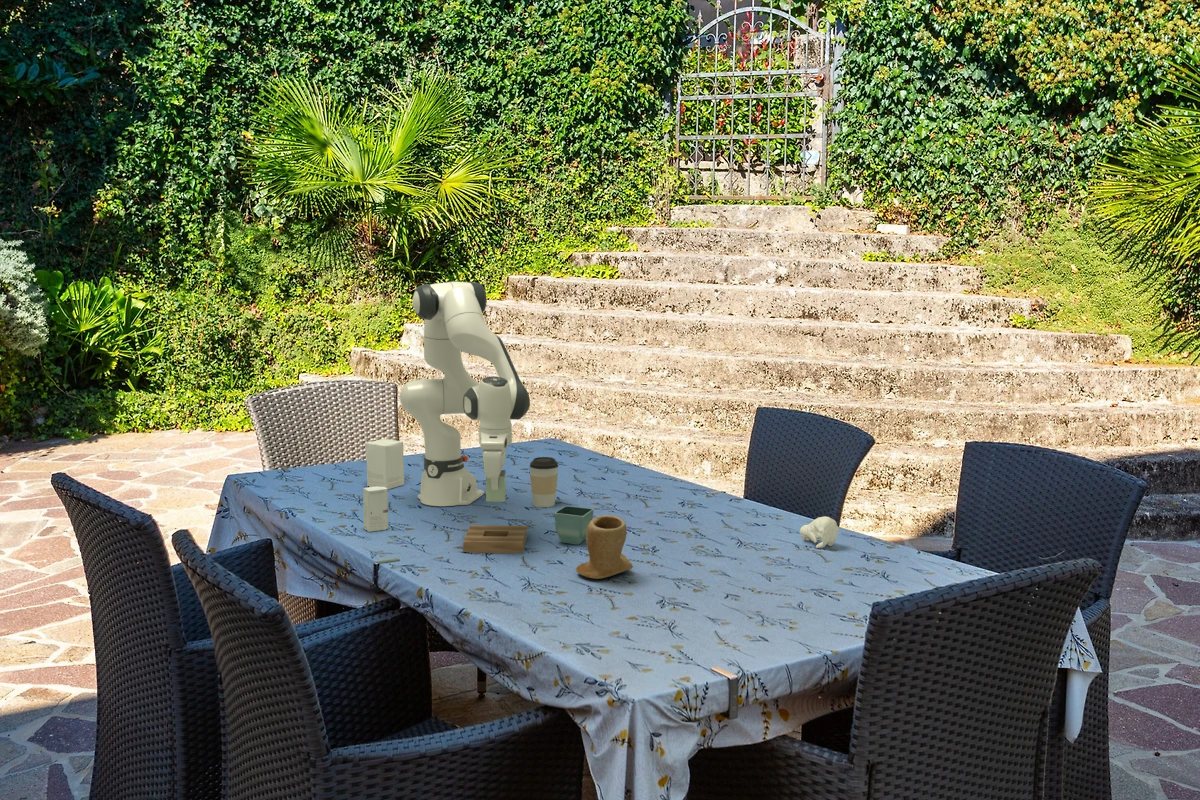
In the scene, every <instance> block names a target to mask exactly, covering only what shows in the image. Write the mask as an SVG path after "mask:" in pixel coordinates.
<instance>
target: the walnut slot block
mask: <svg viewBox="0 0 1200 800" xmlns="http://www.w3.org/2000/svg"><path fill="white" fill-rule="evenodd" d="M527 537H528V526H527V525H493V524H492V525H489V524H488V525H487V524H486V525H485V524H484V525H479V524H477V525H476V524H475V525H473V524H470V525H469V527H468V529H467V532H466V534H465V537H464V538H463V540H462V541H463V542H462V553H463V552H469V553H468V554H471V553H472V554H475V553H476V554H523V553H524V550H525V546H526V541H527V539H528V538H527Z"/></svg>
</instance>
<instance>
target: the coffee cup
mask: <svg viewBox="0 0 1200 800" xmlns="http://www.w3.org/2000/svg"><path fill="white" fill-rule="evenodd" d="M529 464H530V465H529V470H530V471H529V476H530V477H529V478H530V489H531V495H532V506H533V505H534V506H533V507H535V506H536V507H535V508H540V507H547V508H552V507H554V506H555V504H556V492H557V485H558V469H559V464H558V461H557V460H556V459H555V458H553V457H551V456H549V457H548V456H539V457H535V458H533V459H532V461H530V463H529Z"/></svg>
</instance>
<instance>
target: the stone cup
mask: <svg viewBox="0 0 1200 800" xmlns="http://www.w3.org/2000/svg"><path fill="white" fill-rule="evenodd" d="M626 539H627V524H626V522H625V521H624V519H623V518H620V517H618V516H615V515H611V514H605V515H599V516H596V517H594V518H592V520H591V521H590V522H589V524H588V527H587V533H586V539H585V541H586V549H587V551H588V554H589V555H588V556H589V561H586V562H584V563H581V564H579V565H577V566H576V567H575V571H576V572H577V574H579V575H581V576H583V577H585V578H590V579H594V580H599V579H606V578H610V577H612V576H614V575H618V574H621V573H623V572H624V573H625V572H626V571H629V570H631V569H633V568H634V565H633V563H632V562H631V561H630V560H629V559H628V558H627V556H626V555H625V554H623V553H622V552H623V549H624V546H625V542H626Z"/></svg>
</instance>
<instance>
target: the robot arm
mask: <svg viewBox="0 0 1200 800" xmlns="http://www.w3.org/2000/svg"><path fill="white" fill-rule="evenodd" d="M487 299H488V297H487V293H486V289H485V288H484V286H483V285H482V284H481V283H479V282H476V281H475V282H474V281H469V282H467V281H448V282H438V283H437V282H436V283H432V284H429V283H425V284H421V285H419V286H417V287H416V288H415V289H414V291H413V296H412V306H413V310H414V312H415V315H416V316H417V317H418V318H419V319H422V320H424V327H423V358H424V360H425V362H426V364H427V365H428V366H430V367H432V368H434V369H436V370H438V371H440V372H442V373H443V374H444V377H443V378H436V379H435V378H432V379H431V378H430V379H429V378H428V379H427V378H425V379H424V378H423V379H417V380H413V381H407V382H405V383H404V385H403V386H402V388H401V391H400V394H399V400H400V404H401V406H402V408H403V410H405V412H407V414H409V415H410V416H411V417H413V418H414V419H415V420H416V421H417V423H418V425H420V428H421V430H422V433H423V440H424V441H423V442H424V452H425V453H424V454H425V457H423V468H424V471H423V472H422V473H421V480H420V481H421V484H420V493H418V495H417V499H419V501H420V503H422V504H423V505H426V506H431V507H453V506H468V505H471V504H472V503H473V502H474V501H476V500H478V499H479V498H481V496H483V495H484V494H485V491H484V490H482V489H480V488H477V479H476V476H475V475H474V474H472V473H471V472H470V471H469V470H468V469H467V468H465V464H464V462H465V463H467V462H468V461H469V457H468V455H461V451H462V449H461V448H462V447H461V444H462V443H461V439H462V438H461V434H460V432H459V430H458V429H457V428H456V427H454V426H452V425H451V424H448V423H446V422H444V421H442V420H441V416H442V415H445V414H446V415H452V414H453V415H454V414H455V415H456V414H457V415H459V414H460V415H461V414H465V415H466V416H467V417H468V418H469V419H471V420H473V421H479V425H478V443H479V445H480V450H482V457H483V458H482V461H483V471H484V476H485V479H486V478H490V480H491V489H492V490H497V489H498V478H499V475H500V473H501V471H502V470H503V468H504V466H505V463H506V451H507V450H508V446H509V445H511V444H512V442H513V436H512V435H513V434H512V433H513V431H512V430H513V427H512V426H513V425H512V421H511V420H517V421H518V420H519V421H520V420H521V419H522V418H523V417H524V416H525V415H526V414H527V413H528V412H529V410H530V407H531V399H530V395H529V393H528V390H527V389H526V387H525V385H524V384H523V382H522V381H521V379H520V377H519V374H518V372H517V370H516V368H515V366H514V363H513V361H512V359H511V357H510V355H509V352H508V350H507V348H506V345H505V344H504V342H503V340H502V339H501V337H500V336H498V335H496V334H495V333H493V331H492V330H491V329H490V327H489V326H488V325H487V323H486V321H485V318H484V314H483V313H484V312H485V311H486V308H487V302H488V301H487ZM462 352H463V353H465V354H467V355H472V356H476V357H479V358H482V359H484V360H486V361H488V362H490V363H491V364H492V365H493V366H494V368H495V371H496V373H497V376H495V375H494V376H493V375H492V376H487V377H483V378H482V379H481V380H480V382H479V381H477V380H476V379H475V378H473V377H472V376H471V375H470V374H469V373H468V371H467V370H466V368H465V366H464V364H463V363H464V362H463V360H462Z"/></svg>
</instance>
